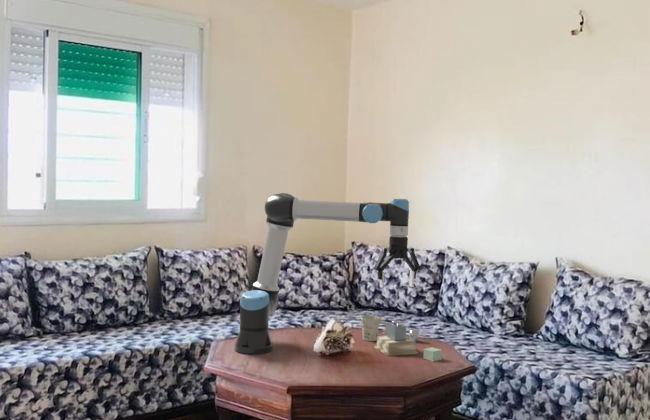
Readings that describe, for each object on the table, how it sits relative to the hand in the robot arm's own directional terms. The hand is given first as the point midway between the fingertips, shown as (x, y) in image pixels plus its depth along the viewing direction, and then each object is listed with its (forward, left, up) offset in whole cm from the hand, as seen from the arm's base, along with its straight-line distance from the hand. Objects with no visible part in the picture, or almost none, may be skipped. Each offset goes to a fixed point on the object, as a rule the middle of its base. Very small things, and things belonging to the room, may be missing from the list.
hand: (396, 287), depth 274 cm
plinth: (0, 0, -27) cm, 27 cm away
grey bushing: (-13, +15, -27) cm, 33 cm away
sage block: (+15, +9, -27) cm, 32 cm away
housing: (0, +1, -22) cm, 22 cm away
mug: (-20, -1, -27) cm, 33 cm away
